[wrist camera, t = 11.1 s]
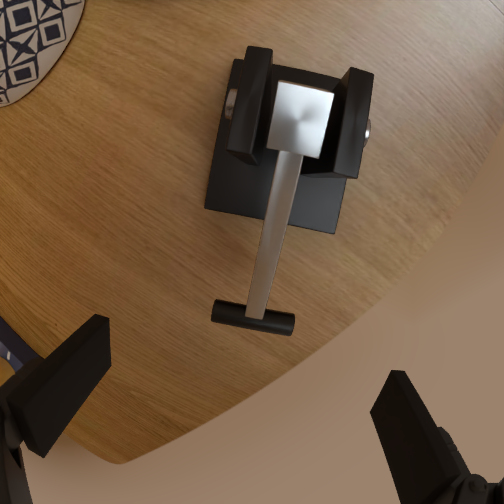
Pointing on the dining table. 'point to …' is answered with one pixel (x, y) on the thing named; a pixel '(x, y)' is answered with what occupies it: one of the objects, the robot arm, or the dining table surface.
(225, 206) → the black angular piece
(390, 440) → the robot arm
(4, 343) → the valve plate
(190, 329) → the dining table surface
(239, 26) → the dining table surface
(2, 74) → the planter
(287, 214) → the faucet lever
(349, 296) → the dining table surface
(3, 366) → the valve knob
